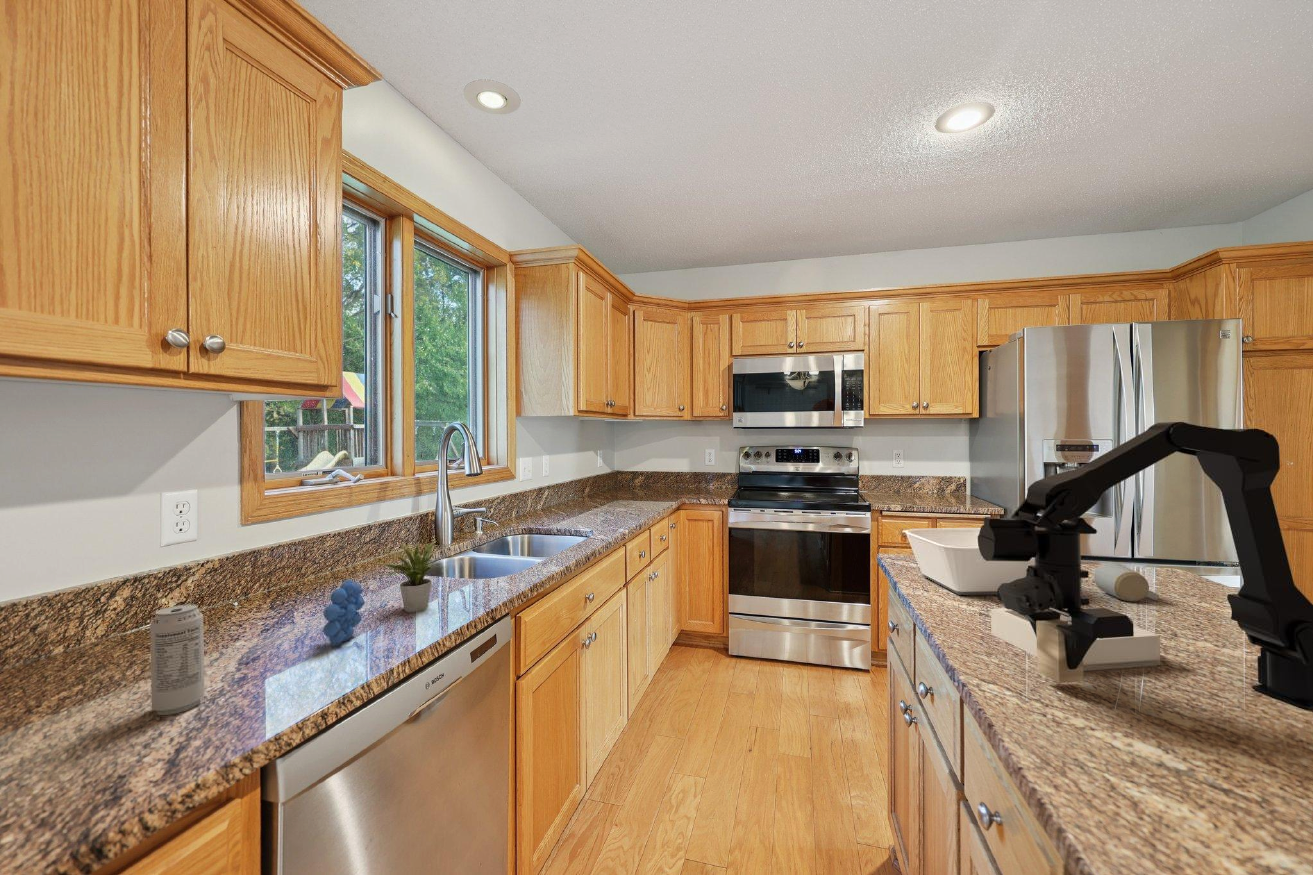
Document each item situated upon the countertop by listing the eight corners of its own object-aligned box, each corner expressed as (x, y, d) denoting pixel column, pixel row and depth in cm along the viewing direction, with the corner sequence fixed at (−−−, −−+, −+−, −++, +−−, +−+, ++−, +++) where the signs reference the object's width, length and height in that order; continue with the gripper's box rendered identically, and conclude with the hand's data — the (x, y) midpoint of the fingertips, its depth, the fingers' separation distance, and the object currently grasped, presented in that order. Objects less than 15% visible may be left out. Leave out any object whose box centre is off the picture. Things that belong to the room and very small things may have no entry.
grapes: (341, 630, 113) (340, 574, 114) (372, 630, 113) (371, 574, 113) (304, 652, 102) (303, 590, 102) (339, 652, 102) (338, 589, 102)
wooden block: (1083, 681, 80) (1082, 628, 80) (1059, 683, 80) (1057, 629, 80) (1060, 669, 84) (1059, 619, 84) (1037, 671, 84) (1036, 620, 84)
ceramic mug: (1115, 602, 122) (1115, 569, 122) (1093, 592, 130) (1093, 560, 130) (1169, 605, 120) (1169, 571, 120) (1142, 594, 128) (1142, 562, 128)
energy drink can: (207, 693, 86) (205, 600, 86) (201, 708, 81) (199, 610, 81) (156, 704, 82) (155, 607, 82) (147, 721, 77) (145, 618, 77)
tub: (1077, 605, 120) (1076, 549, 120) (958, 608, 120) (957, 551, 120) (985, 569, 154) (984, 525, 154) (893, 571, 154) (892, 526, 154)
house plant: (408, 597, 137) (407, 534, 137) (458, 598, 135) (457, 534, 136) (371, 615, 123) (370, 545, 123) (427, 617, 121) (425, 545, 121)
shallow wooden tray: (1160, 665, 89) (1159, 635, 89) (1067, 672, 87) (1066, 641, 87) (1070, 629, 106) (1070, 604, 106) (991, 634, 104) (990, 608, 104)
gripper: (967, 551, 90) (969, 643, 90) (1061, 580, 72) (1064, 695, 72) (1027, 548, 92) (1029, 639, 92) (1135, 576, 73) (1138, 689, 73)
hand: (1059, 662), depth 82 cm, fingers closed on wooden block, 4 cm apart
